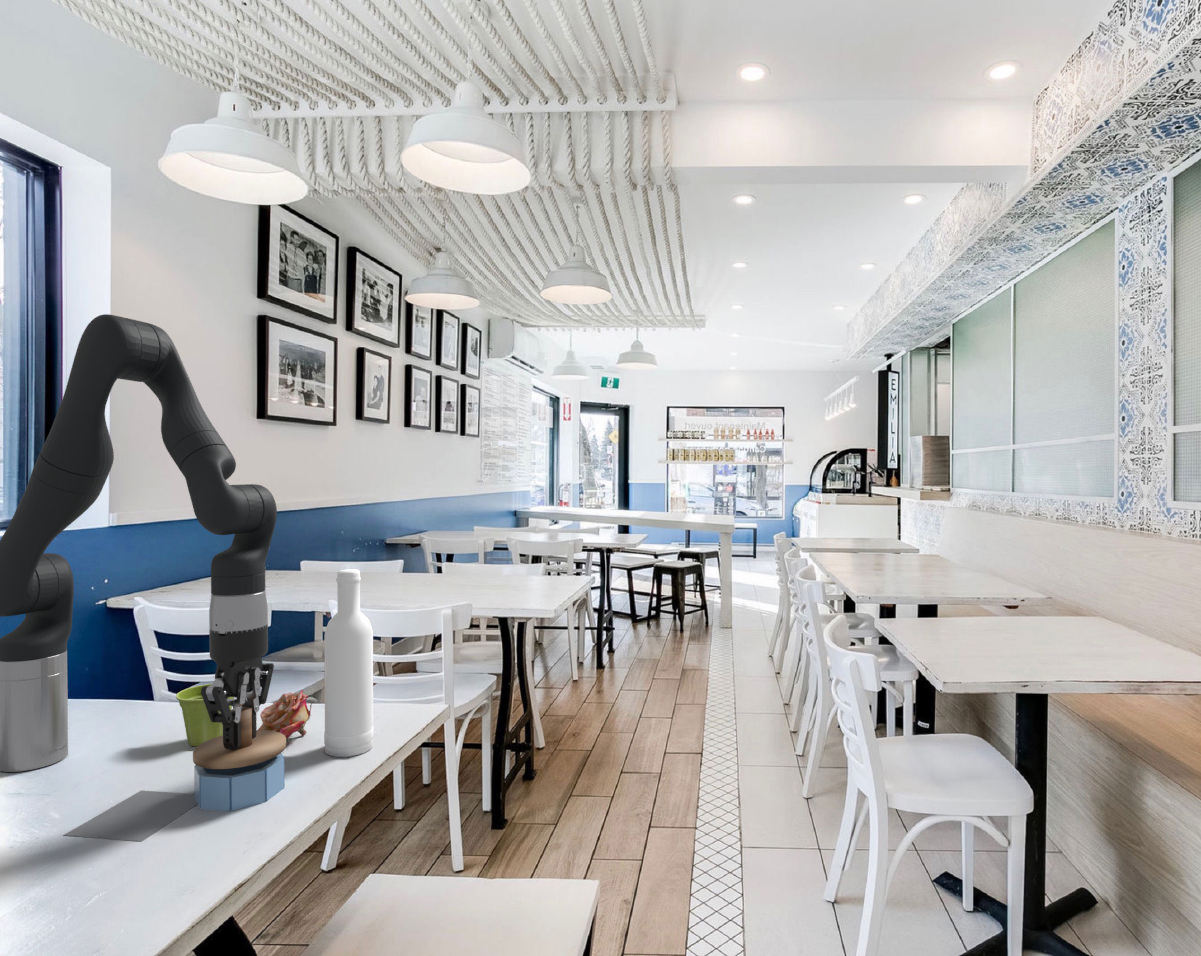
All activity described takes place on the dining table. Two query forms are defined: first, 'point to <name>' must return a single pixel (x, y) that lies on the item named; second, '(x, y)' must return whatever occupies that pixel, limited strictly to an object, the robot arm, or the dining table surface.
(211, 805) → the bowl
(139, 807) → the mat
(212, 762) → the lid
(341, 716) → the bottle
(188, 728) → the plant pot
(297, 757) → the dining table surface
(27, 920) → the dining table surface
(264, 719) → the flower
